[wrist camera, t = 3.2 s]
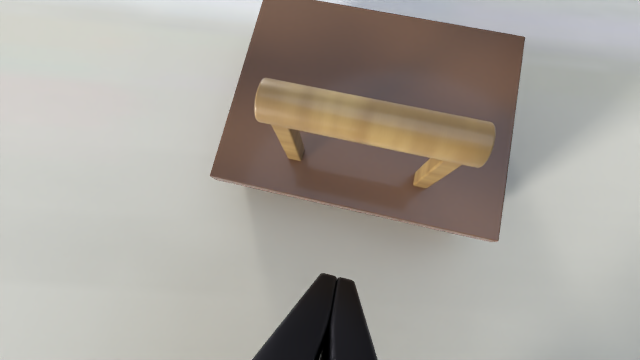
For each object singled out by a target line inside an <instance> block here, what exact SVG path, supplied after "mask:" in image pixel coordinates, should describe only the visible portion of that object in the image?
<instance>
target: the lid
mask: <svg viewBox="0 0 640 360" xmlns="http://www.w3.org/2000/svg"><path fill="white" fill-rule="evenodd" d="M524 41H525V37H523V36H517V35H512V34H506V33H500V32H494V31H489V30H483V29H477V28H472V27H466V26H460V25H454V24H449V23H443V22H437V21H431V20H426V19H420V18H414V17H409V16H403V15H397V14H391V13H386V12H380V11H374V10H369V9H363V8H357V7H351V6H346V5H340V4H334V3H328V2H323V1H317V0H263V2H262V5H261V9H260V12H259V15H258V18H257V22H256V25H255V28H254V32H253V35H252V38H251V42H250V45H249V48H248V52H247V55H246V58H245V61H244V65H243V68H242V71H241V75H240V78H239V81H238V85H237V88H236V91H235V94H234V98H233V101H232V104H231V108H230V111H229V114H228V118H227V121H226V124H225V128H224V131H223V134H222V137H221V141H220V144H219V147H218V151H217V154H216V157H215V161H214V164H213V167H212V170H211V174H210V176H211V177H212V178H214V179H216V180H220V181H224V182H228V183H233V184H237V185H242V186H246V187H251V188H255V189H259V190H264V191H268V192H273V193H277V194H281V195H286V196H290V197H295V198H299V199H303V200H308V201H312V202H317V203H321V204H325V205H330V206H334V207H339V208H343V209H347V210H352V211H356V212H361V213H365V214H369V215H374V216H378V217H383V218H387V219H391V220H396V221H400V222H405V223H409V224H414V225H418V226H422V227H427V228H431V229H436V230H440V231H444V232H449V233H453V234H458V235H462V236H466V237H471V238H475V239H480V240H484V241H488V242H497V241H499V233H500V225H501V218H502V210H503V202H504V195H505V187H506V179H507V172H508V164H509V156H510V149H511V141H512V133H513V126H514V118H515V110H516V103H517V95H518V87H519V80H520V72H521V64H522V57H523V49H524Z"/></svg>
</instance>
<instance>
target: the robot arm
mask: <svg viewBox="0 0 640 360" xmlns="http://www.w3.org/2000/svg"><path fill="white" fill-rule="evenodd" d="M319 359H320V360H377V356H376V353H375V349H374V346H373V343H372V339H371V336H370V333H369V329H368V326H367V323H366V319H365V316H364V313H363V309H362V306H361V303H360V299H359V296H358V293H357V289H356V286H355V283H354V281H352V280H349V279H345V278H341V277H340V278H338V279H337V278H336V276H333V275H329V274H325V273H322V274H320V275H319V276H318V278H317V279H316V280H315V281H314V283H313V284H312V285H311V286H310V288H309V289H308V290H307V291H306V293H305V294H304V295H303V296H302V298H301V299H300V300H299V301H298V303H297V304H296V305H295V306H294V308H293V309H292V310H291V311H290V313H289V314H288V315H287V317H286V318H285V319H284V320H283V322H282V323H281V324H280V325H279V327H278V328H277V329H276V330H275V332H274V333H273V334H272V335H271V337H270V338H269V339H268V340H267V342H266V343H265V344H264V345H263V347H262V348H261V349H260V350H259V352H258V353H257V354H256V355H255V357H254V358H253V359H252V360H319Z"/></svg>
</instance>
